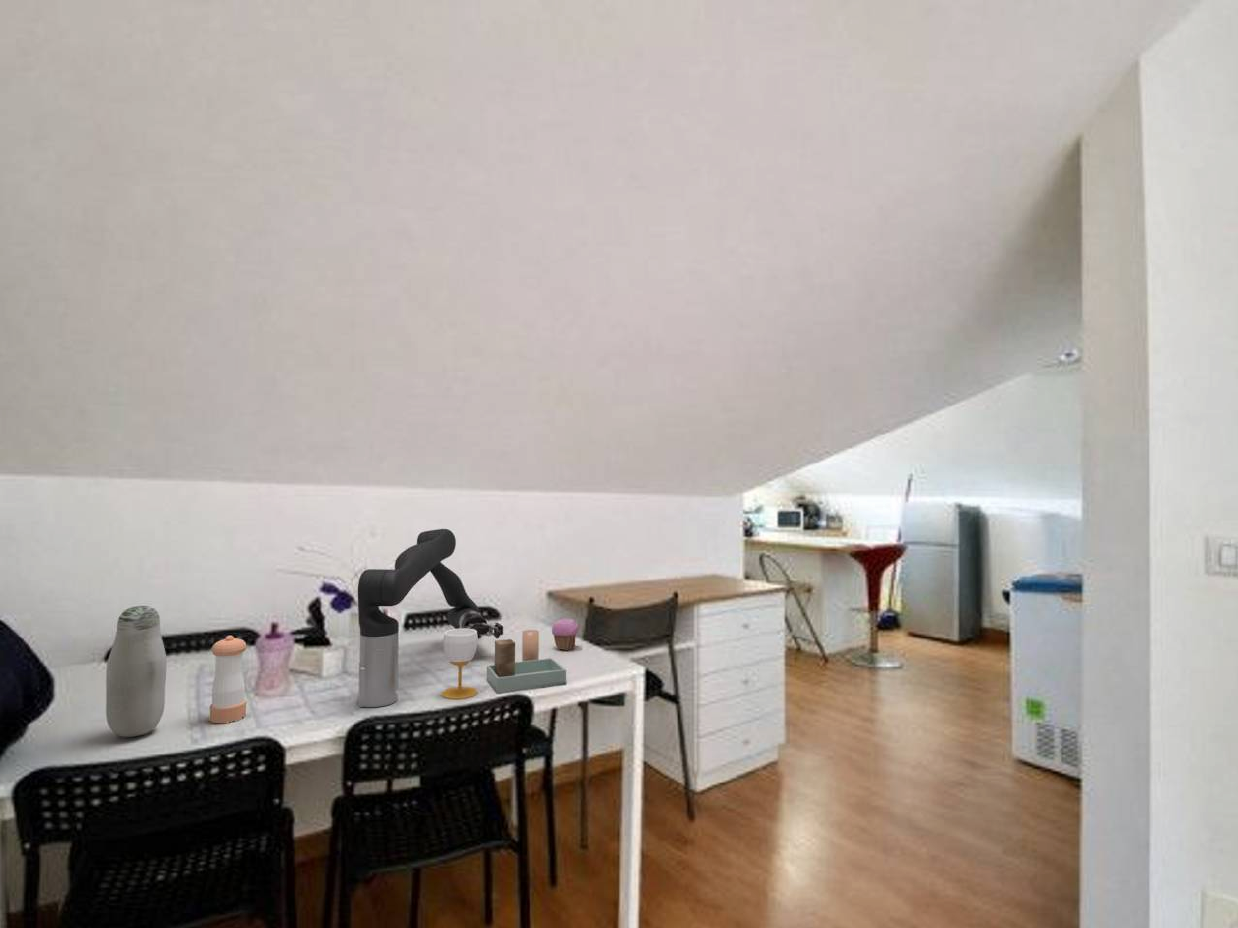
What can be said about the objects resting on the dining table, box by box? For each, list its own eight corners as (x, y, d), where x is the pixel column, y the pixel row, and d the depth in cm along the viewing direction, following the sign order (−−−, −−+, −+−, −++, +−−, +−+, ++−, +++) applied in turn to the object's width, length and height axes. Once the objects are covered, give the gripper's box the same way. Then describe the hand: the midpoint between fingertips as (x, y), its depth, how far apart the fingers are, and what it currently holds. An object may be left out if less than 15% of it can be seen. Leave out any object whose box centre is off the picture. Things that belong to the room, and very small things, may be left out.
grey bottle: (93, 742, 136) (96, 610, 136) (137, 723, 146) (140, 600, 146) (134, 745, 134) (137, 612, 135) (175, 726, 144) (177, 602, 145)
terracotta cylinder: (524, 672, 186) (525, 634, 186) (520, 667, 190) (520, 630, 191) (540, 670, 188) (540, 633, 188) (535, 666, 192) (536, 629, 193)
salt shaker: (206, 717, 150) (207, 635, 150) (241, 709, 155) (242, 630, 155) (213, 726, 144) (215, 641, 145) (249, 718, 150) (251, 636, 150)
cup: (440, 689, 171) (441, 629, 171) (474, 686, 174) (475, 626, 174) (443, 700, 162) (444, 637, 162) (479, 696, 165) (480, 634, 166)
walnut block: (498, 685, 172) (498, 644, 172) (494, 680, 176) (494, 640, 176) (514, 683, 174) (515, 642, 174) (510, 678, 178) (510, 638, 178)
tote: (497, 693, 168) (497, 678, 168) (486, 679, 179) (486, 665, 179) (565, 684, 176) (566, 669, 176) (551, 671, 187) (551, 658, 187)
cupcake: (583, 647, 213) (583, 617, 214) (569, 653, 206) (569, 622, 206) (560, 644, 218) (561, 614, 218) (546, 650, 210) (546, 619, 210)
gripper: (450, 614, 202) (459, 625, 188) (494, 610, 208) (507, 621, 193) (450, 638, 202) (459, 651, 187) (494, 634, 208) (507, 646, 193)
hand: (483, 636), depth 190 cm, fingers open, 8 cm apart
